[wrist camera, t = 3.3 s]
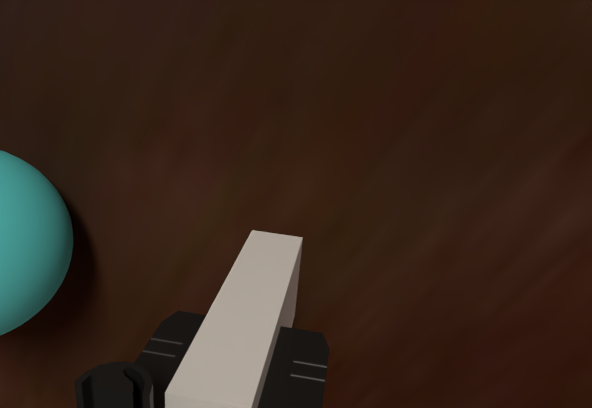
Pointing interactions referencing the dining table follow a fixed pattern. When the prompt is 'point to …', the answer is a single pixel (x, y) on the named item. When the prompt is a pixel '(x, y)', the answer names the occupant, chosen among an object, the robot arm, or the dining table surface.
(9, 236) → the ball
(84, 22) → the dining table surface
